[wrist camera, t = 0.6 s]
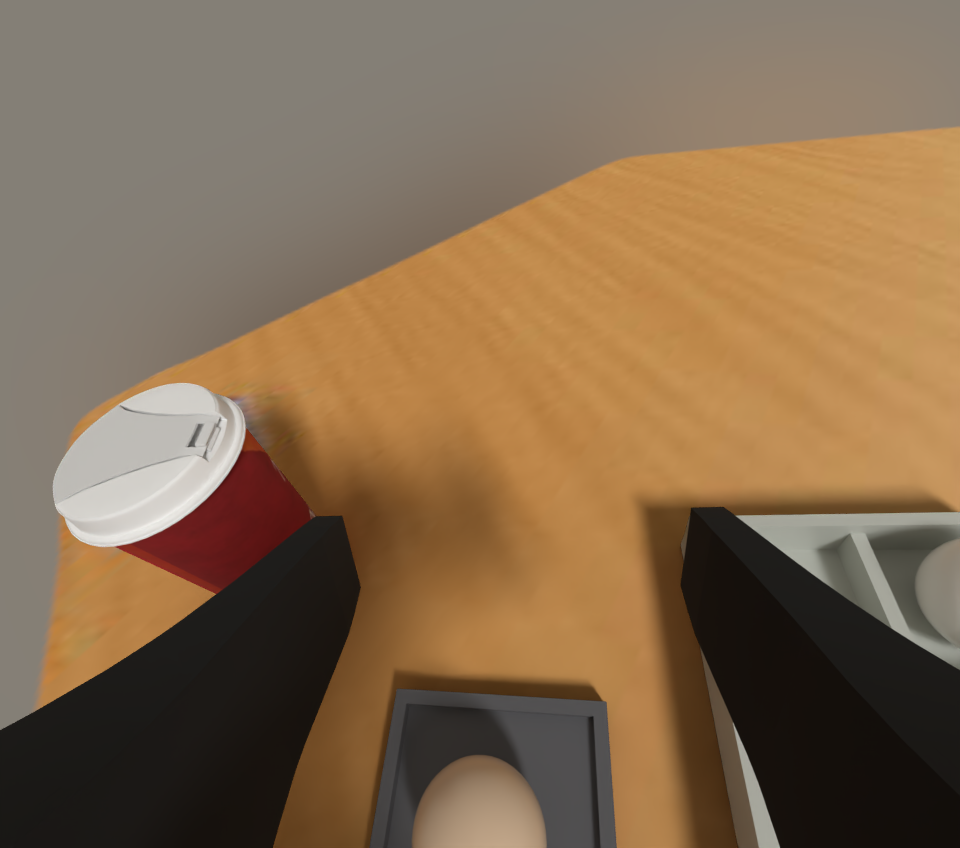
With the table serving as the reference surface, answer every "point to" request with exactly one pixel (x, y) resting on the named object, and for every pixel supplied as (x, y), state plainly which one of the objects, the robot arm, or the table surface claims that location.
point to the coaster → (512, 738)
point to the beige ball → (479, 808)
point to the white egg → (941, 590)
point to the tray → (861, 579)
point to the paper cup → (178, 486)
